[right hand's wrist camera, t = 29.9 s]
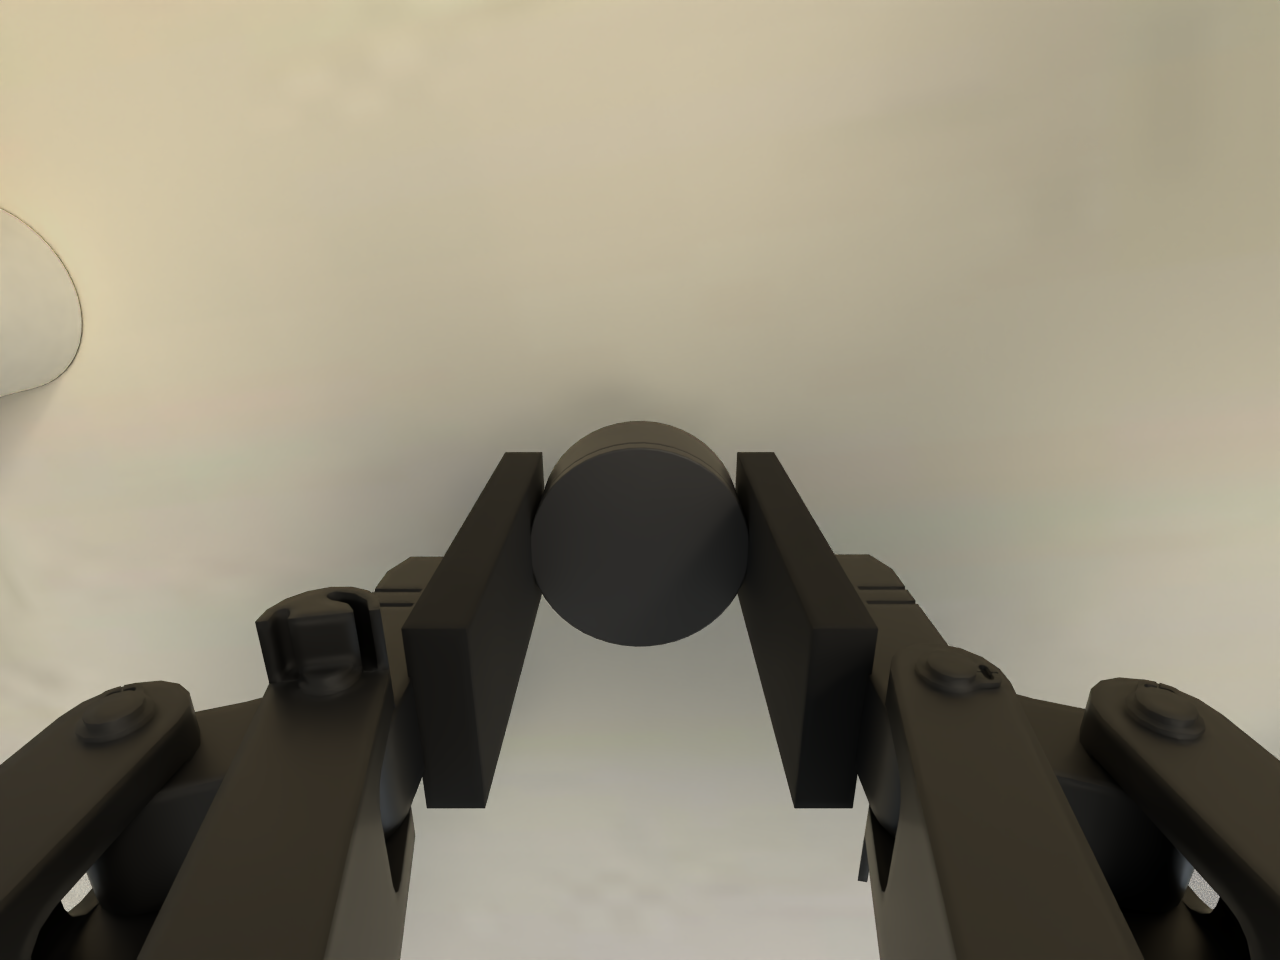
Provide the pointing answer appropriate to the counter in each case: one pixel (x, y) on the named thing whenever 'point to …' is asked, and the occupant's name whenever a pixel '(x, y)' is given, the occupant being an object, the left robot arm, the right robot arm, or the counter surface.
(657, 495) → the cap
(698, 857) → the counter surface
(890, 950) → the right robot arm
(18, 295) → the bottle
